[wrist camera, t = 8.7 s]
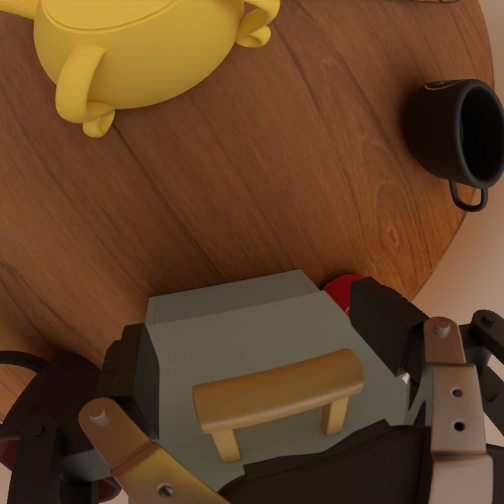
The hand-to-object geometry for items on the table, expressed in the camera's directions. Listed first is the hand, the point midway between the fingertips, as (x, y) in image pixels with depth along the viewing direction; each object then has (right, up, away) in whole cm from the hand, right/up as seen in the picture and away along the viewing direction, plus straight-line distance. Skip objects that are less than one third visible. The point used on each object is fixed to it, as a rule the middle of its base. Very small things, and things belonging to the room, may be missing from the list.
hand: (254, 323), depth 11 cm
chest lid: (0, -4, +3) cm, 5 cm away
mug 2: (+17, +13, +12) cm, 25 cm away
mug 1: (-18, -8, +12) cm, 23 cm away
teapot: (-8, +19, +4) cm, 21 cm away
